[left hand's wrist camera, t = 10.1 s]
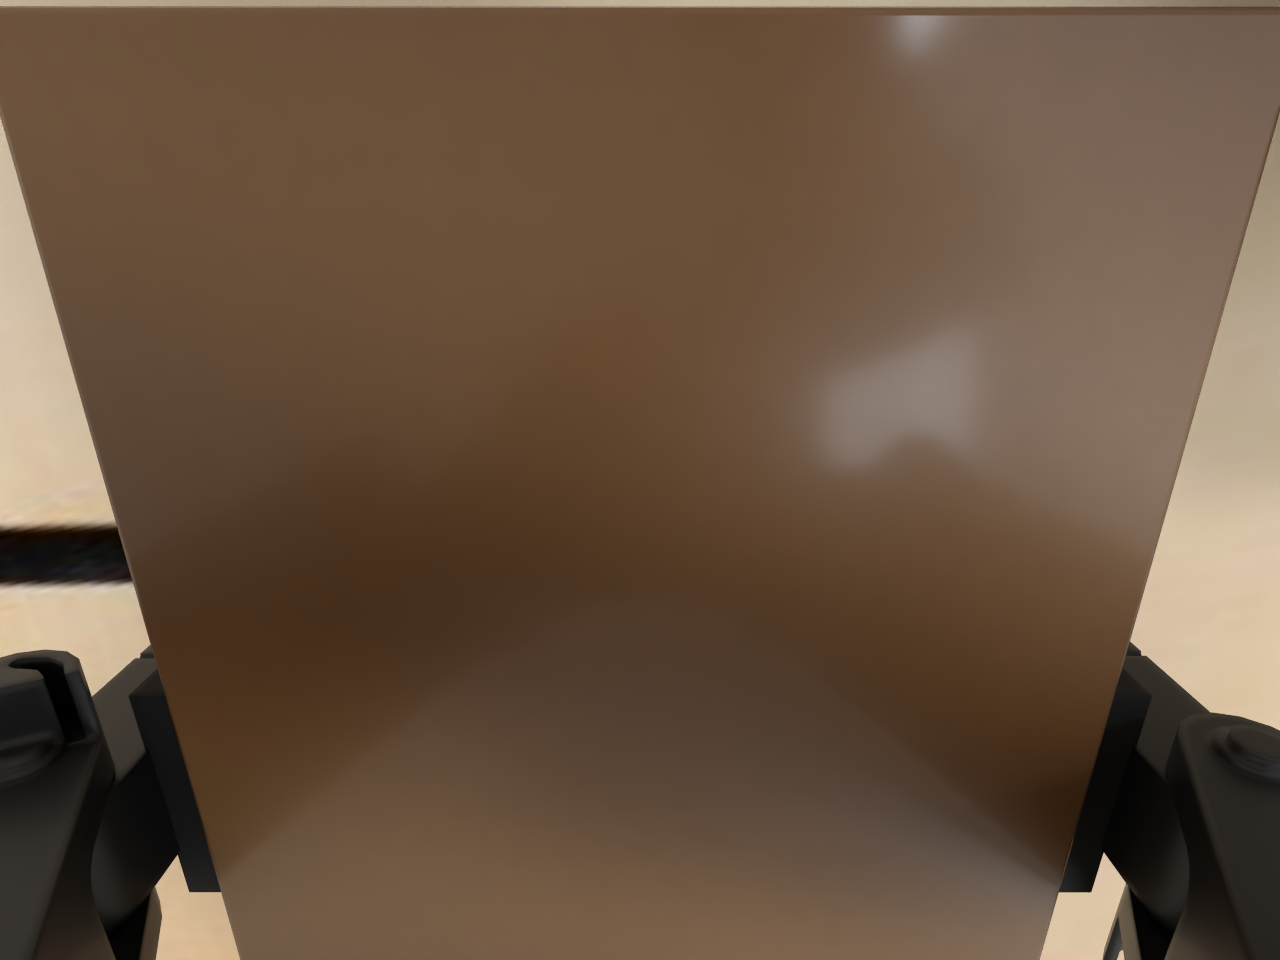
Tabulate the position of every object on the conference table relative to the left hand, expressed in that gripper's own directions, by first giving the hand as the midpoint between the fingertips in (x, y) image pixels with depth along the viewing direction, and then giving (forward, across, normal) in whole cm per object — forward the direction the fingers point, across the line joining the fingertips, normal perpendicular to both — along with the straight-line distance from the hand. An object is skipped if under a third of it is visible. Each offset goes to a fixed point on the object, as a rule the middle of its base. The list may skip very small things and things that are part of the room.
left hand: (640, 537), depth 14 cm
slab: (+1, 0, -26) cm, 26 cm away
